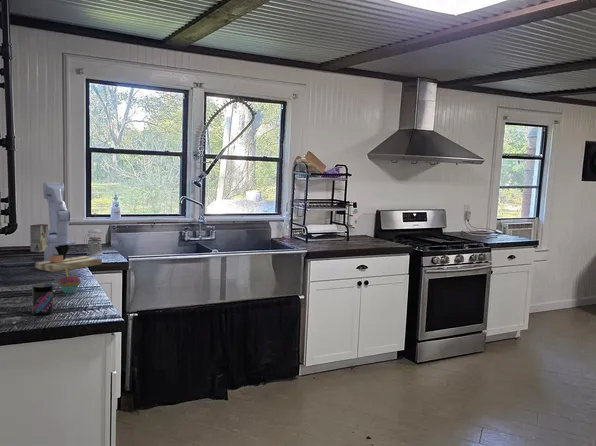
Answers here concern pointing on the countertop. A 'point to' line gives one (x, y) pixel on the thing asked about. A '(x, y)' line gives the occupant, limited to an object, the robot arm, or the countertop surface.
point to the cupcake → (69, 282)
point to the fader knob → (56, 258)
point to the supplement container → (42, 299)
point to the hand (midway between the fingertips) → (62, 259)
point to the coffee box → (38, 237)
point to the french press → (92, 242)
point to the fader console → (68, 263)
